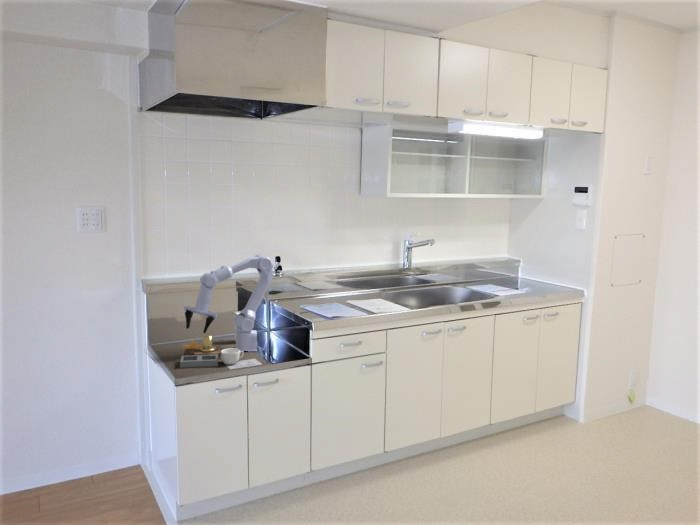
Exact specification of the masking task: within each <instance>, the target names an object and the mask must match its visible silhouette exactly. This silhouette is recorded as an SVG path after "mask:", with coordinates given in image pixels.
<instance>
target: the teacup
mask: <svg viewBox="0 0 700 525" xmlns="http://www.w3.org/2000/svg"><path fill="white" fill-rule="evenodd" d="M241 353H242V355H241ZM244 354H245V353H244V352H243V351H240V350H239V349H236V348H235V347H234V348H233V347H229V348H224V349H221V358H220V360H221V361H222V363H223V364H225V365H227V364H233V365H236V364H237V363H238V362H239V360H240V359H241V358H243V356H244ZM240 355H241V356H240Z"/></svg>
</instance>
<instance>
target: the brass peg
mask: <svg viewBox="0 0 700 525" xmlns="http://www.w3.org/2000/svg"><path fill="white" fill-rule="evenodd" d="M214 346H215V345H214ZM214 346H213V335H212V334H210V333H209V334H203V335H202V348H199V350H200V351H201V352H212V351H215V350H216V347H214Z"/></svg>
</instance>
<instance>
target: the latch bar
mask: <svg viewBox="0 0 700 525" xmlns="http://www.w3.org/2000/svg"><path fill="white" fill-rule="evenodd" d="M195 343H196V340H194V339H191V340H190V344H183V345H182V349H183V350H185V349H193V348H202V347H203V343H202V344H199V343H198V344H195Z"/></svg>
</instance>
